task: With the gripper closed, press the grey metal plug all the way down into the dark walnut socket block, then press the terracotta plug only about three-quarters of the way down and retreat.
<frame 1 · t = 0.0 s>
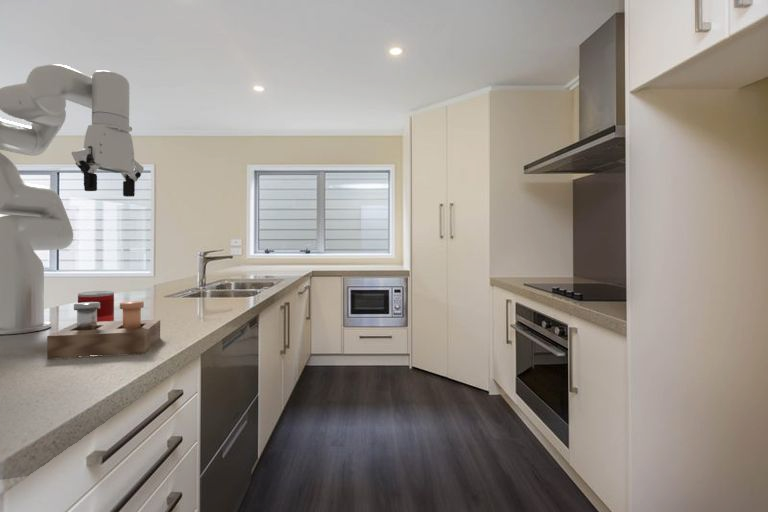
hand: (110, 193, 93), 37 cm above the counter, tool pointing down, fingers open, 9 cm apart
canned food: (96, 332, 103), on the counter
terracotta plug: (131, 317, 90), point 7 cm above the counter, slide at 0.0 cm
grey plug: (87, 318, 87), point 7 cm above the counter, slide at 0.0 cm
socket block: (109, 347, 89), on the counter
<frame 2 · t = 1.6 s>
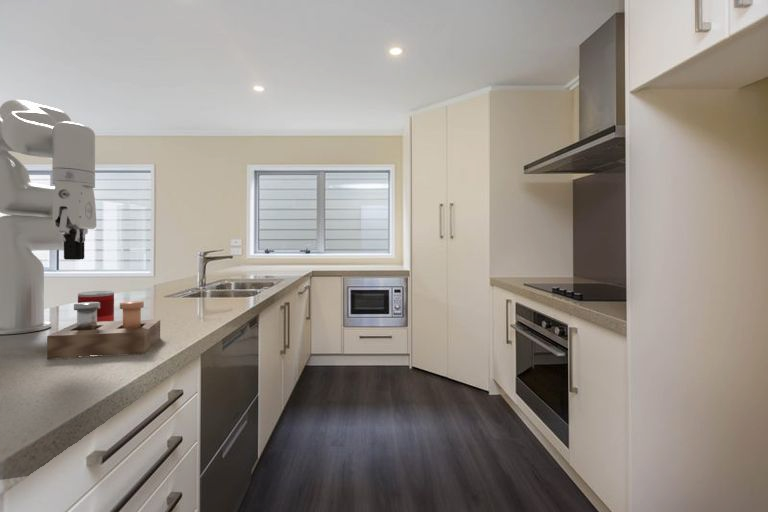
hand: (74, 259, 86), 21 cm above the counter, tool pointing down, fingers closed
nothing on the counter moved.
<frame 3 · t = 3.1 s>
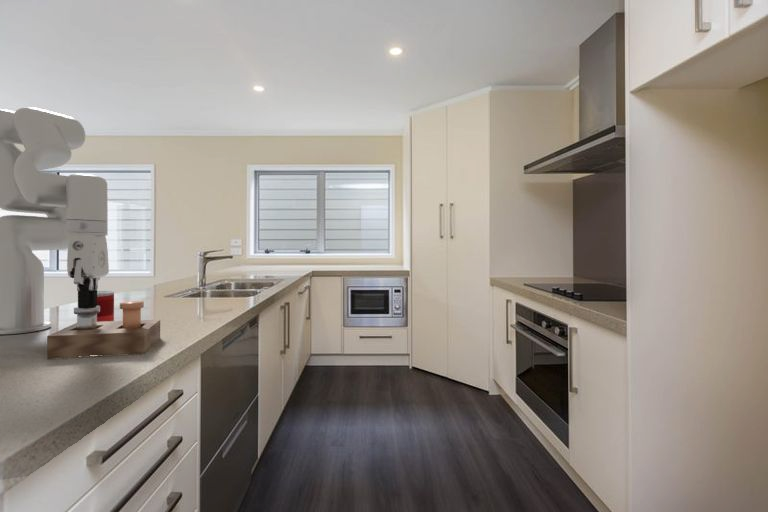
hand: (87, 307, 87), 10 cm above the counter, tool pointing down, fingers closed
grey plug: (87, 322, 87), point 6 cm above the counter, slide at 0.9 cm, touching gripper
everything else where it was.
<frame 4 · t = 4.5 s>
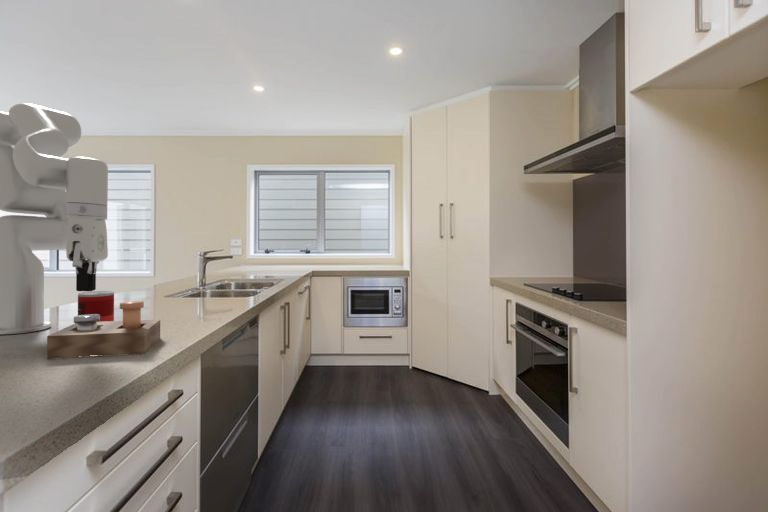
hand: (86, 290, 87), 14 cm above the counter, tool pointing down, fingers closed
grey plug: (87, 331, 87), point 4 cm above the counter, slide at 3.0 cm
everything else where it was.
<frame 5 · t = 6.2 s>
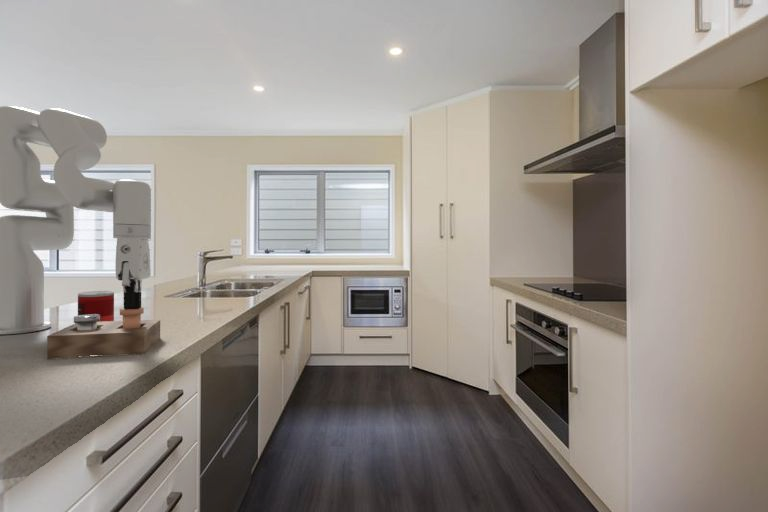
hand: (132, 308, 90), 9 cm above the counter, tool pointing down, fingers closed
terracotta plug: (131, 323, 90), point 6 cm above the counter, slide at 1.5 cm, touching gripper
everything else where it was.
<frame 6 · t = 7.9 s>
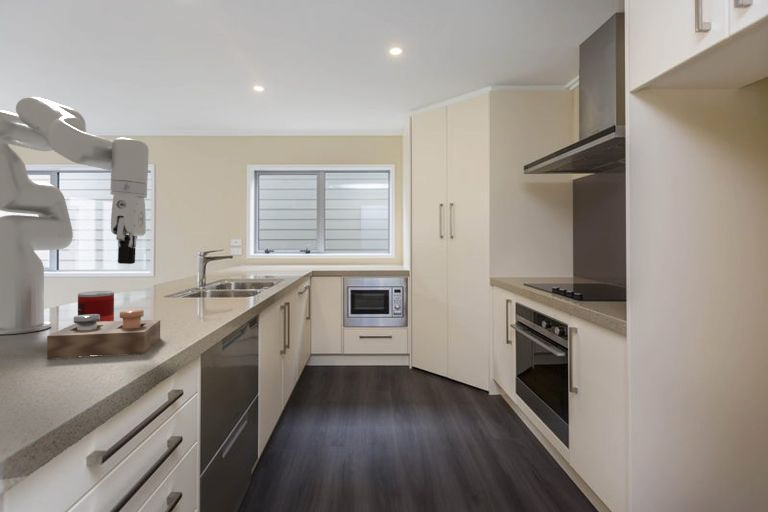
hand: (126, 263, 93), 20 cm above the counter, tool pointing down, fingers closed
terracotta plug: (131, 326, 90), point 5 cm above the counter, slide at 2.1 cm
everything else where it was.
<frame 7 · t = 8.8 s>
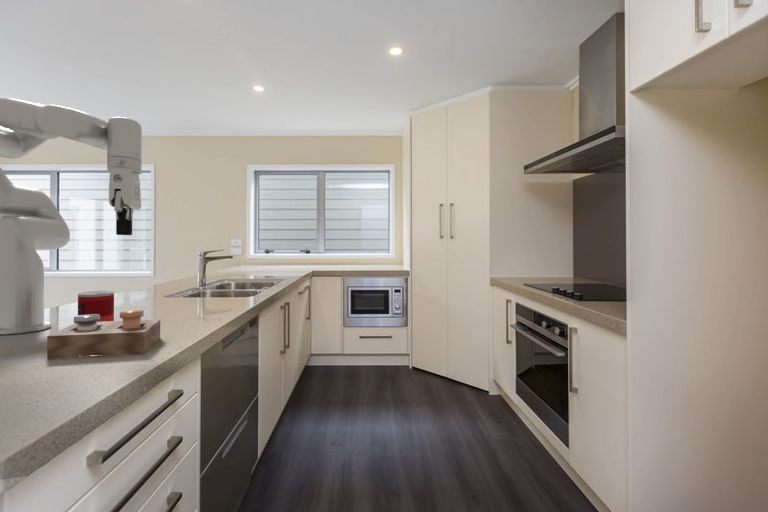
hand: (124, 234, 100), 27 cm above the counter, tool pointing down, fingers closed
nothing on the counter moved.
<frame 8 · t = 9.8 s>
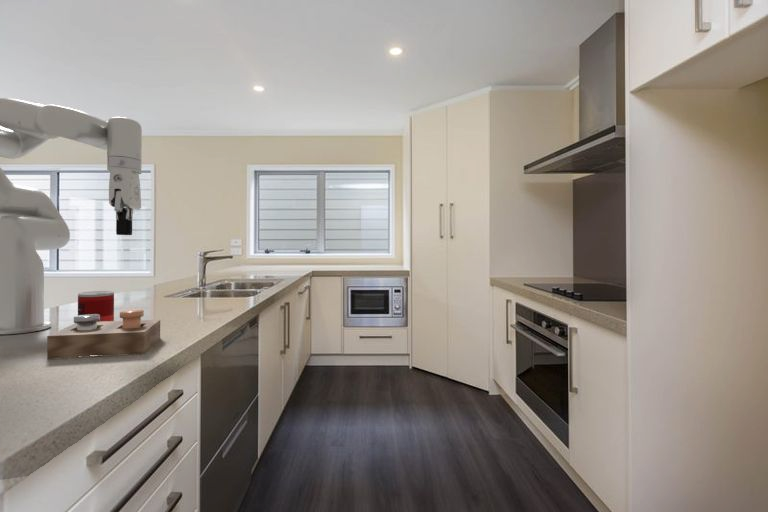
hand: (124, 234, 100), 27 cm above the counter, tool pointing down, fingers closed
nothing on the counter moved.
at the end: grey plug slide at 3.0 cm; terracotta plug slide at 2.1 cm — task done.
